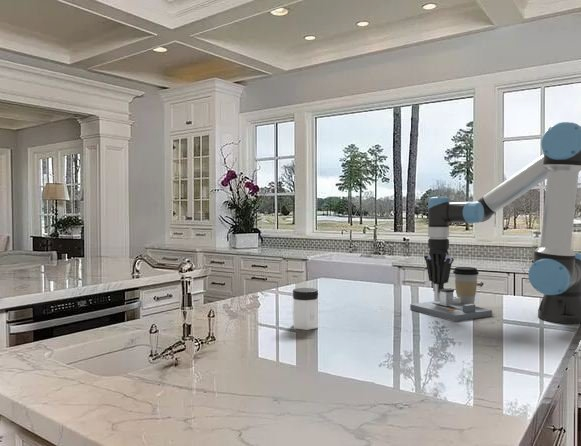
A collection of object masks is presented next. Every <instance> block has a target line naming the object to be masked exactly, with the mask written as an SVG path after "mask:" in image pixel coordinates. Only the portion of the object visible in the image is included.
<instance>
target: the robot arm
mask: <svg viewBox="0 0 581 446" xmlns="http://www.w3.org/2000/svg"><path fill="white" fill-rule="evenodd" d="M540 142H541V143H540V146H541V150H542V153H543V154H541V156H538V157H537V158H536V159H534V160H533V161H531V162H530V163H529V164H527V165H526V166H525V167H523V168H522V169H520V170H519V171H517V172H516V173H515V174H512V175H511V176H510V177H508V178H507V179H506V180H504V181H503V182H501V183H500V184H499V185H497V186H496V187H495V188H493V189H491V190H490V191H489V192H487V193H485V195H483V196H482V197H480V198H478V199H477V200H476V201H455V202H453V201H452V202H451V201H450V198H449V196H433V197H430V198H429V199H428V206H427V212H428V213H427V216H428V218H427V219H428V221H427V223H428V226H427V237H428V240H427V241H428V242H427V248H428V249H429V252H428V254H427V255H424V256H423V257H424V260H425V263H426V268H427V269H426V271H427V275H428V281H429V282H432V286H433V289H432V291H433V293H434V294H433V301H436V302H439V301H440V291H439V289H444V288H445V287H444V285H445V284H448V283H449V279H450V275H451V269H452V264H453V262H454V260H455V259H454V258H453V257H450V256H449V252H448V250H449V249H450V240H449V238H450V223H451V224H453V223H458V224H459V223H460V224H461V223H462V224H478V223H484V222H487V221H489V220H490V219H491V218H492V216H493V215H494V214H496V213H498V211H500V210H501V209H503V208H504V207H507V205H509V204H511V203H513V201H515V200H516V199H518V198H520V197H521V196H523V195H525V194H526V193H528V192H529V191H530V190H532V189H533V188H534V187H536V186H538V185H540V184H541V183H542V182H544V181H546V185H545V186H546V187H545V197H544V205H543V206H544V207H543V216H542V225H541V227H542V228H541V236H540V245H539V246H537V248H535V249H534V254H533V263H532V264H531V265H530V267H529V270H528V272H527V273H528V280H529V283H530V285H531V286H532V287H533V289H535V290H536V291H537V292H539V293H540V294H542V295H543V297H542V299H541V302H540V304H539V307H538V309H537V317H538V318H539V319H541V320H544V321H549V322H554V323H561V324H575V325H576V324H581V253H580V252H575V251H573V249H572V241H573V238H572V237H573V230H574V221H575V220H574V219H575V212H576V211H575V210H576V201H577V192H578V182H579V175H580V174H579V173H580V171H581V125H579V124H578V123H574V122H569V121H561V122H557V123H556V124H553V125H551V126H549V127H548V128H547V129H546V131H544V133H543V135H542V138H541V141H540Z"/></svg>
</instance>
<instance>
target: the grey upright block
mask: <svg viewBox="0 0 581 446" xmlns="http://www.w3.org/2000/svg"><path fill="white" fill-rule="evenodd" d="M439 291H440V305H443V306H451V305H453V297H454V293H455V289H453V288H451V287H450V288H448V287H447V288H445V287H444V289H439Z"/></svg>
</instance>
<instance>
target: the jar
mask: <svg viewBox="0 0 581 446" xmlns="http://www.w3.org/2000/svg"><path fill="white" fill-rule="evenodd" d="M292 325H293V326H292V327H293V329H295V330H303V331H309V330H315V329H319V290H318V289H317V288H313V287H312V288H311V287H299V288H298V287H297V288H293V290H292Z"/></svg>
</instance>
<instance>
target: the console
mask: <svg viewBox="0 0 581 446" xmlns="http://www.w3.org/2000/svg"><path fill="white" fill-rule="evenodd" d="M409 310H411V311H415V312H417V313H418V312H419V313H421V314H426V315H430V316H433V317H435V318H436V317H437V318H440V319H444V320H449V321H452V322H460V321H462V322H463V321H466V320H473V319H479V318H486V317H491V316H493V310H492V309H489V308H485V307H479V306H476V304H475V303H474V304H462V303H461V298H460V297H457V296H453V305H451V306H443V305H440V301H439V302H436V301H434V300H433V301H425V302H416V303H410V309H409Z"/></svg>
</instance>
